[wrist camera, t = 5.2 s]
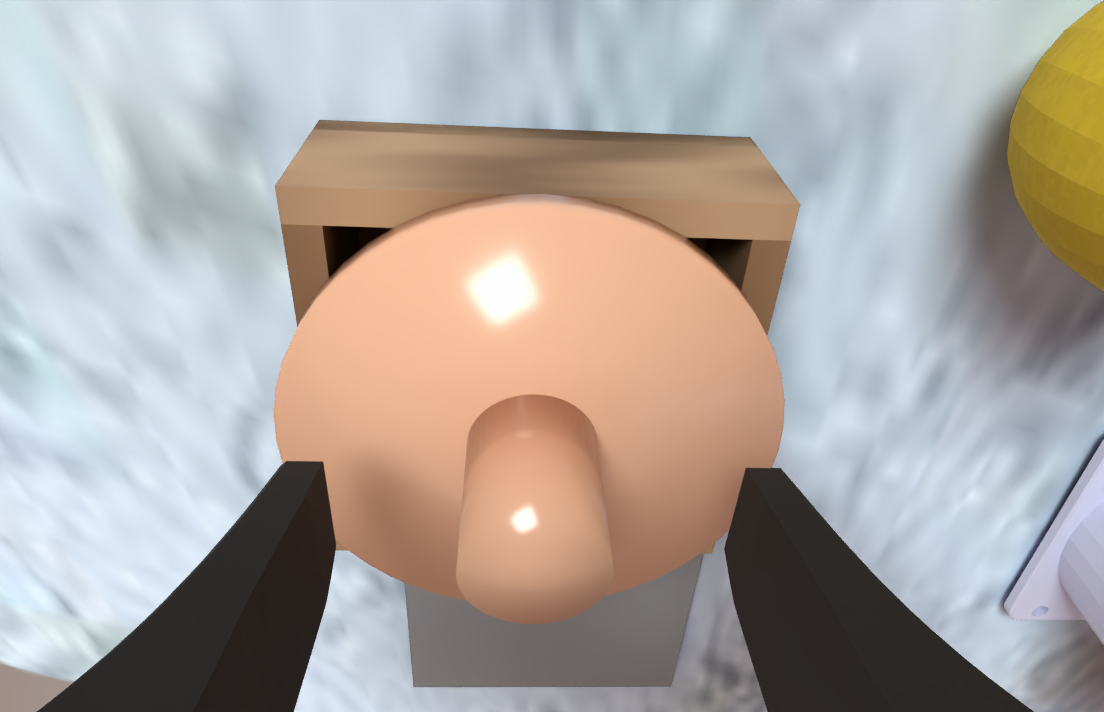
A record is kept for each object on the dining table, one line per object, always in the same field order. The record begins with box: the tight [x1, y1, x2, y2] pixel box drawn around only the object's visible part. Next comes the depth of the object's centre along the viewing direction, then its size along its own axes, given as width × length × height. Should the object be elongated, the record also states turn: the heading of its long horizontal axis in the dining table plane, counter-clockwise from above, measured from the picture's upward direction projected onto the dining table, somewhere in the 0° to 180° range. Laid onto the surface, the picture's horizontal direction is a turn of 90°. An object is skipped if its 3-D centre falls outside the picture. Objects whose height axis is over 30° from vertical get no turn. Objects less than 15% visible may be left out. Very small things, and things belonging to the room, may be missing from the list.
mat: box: [405, 553, 703, 687], centre depth 24 cm, size 9×9×1 cm
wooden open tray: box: [275, 120, 800, 553], centre depth 17 cm, size 9×9×4 cm
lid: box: [274, 194, 784, 624], centre depth 14 cm, size 10×10×4 cm
